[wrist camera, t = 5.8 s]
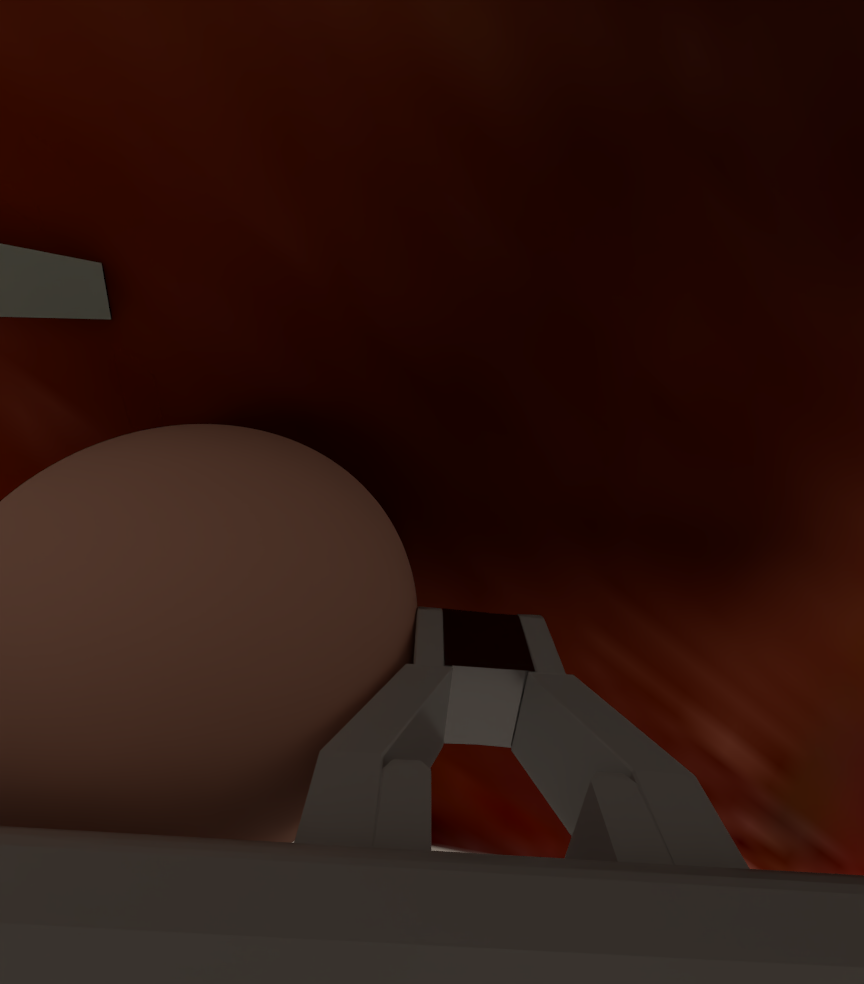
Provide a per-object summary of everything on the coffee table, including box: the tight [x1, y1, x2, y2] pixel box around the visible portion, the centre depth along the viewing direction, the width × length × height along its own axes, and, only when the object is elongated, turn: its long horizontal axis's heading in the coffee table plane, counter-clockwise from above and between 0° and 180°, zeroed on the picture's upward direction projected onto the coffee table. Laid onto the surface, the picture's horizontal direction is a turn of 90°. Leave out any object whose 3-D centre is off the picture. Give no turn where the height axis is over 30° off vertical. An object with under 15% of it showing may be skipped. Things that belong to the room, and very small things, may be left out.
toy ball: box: [0, 424, 417, 843], centre depth 8 cm, size 8×8×8 cm
